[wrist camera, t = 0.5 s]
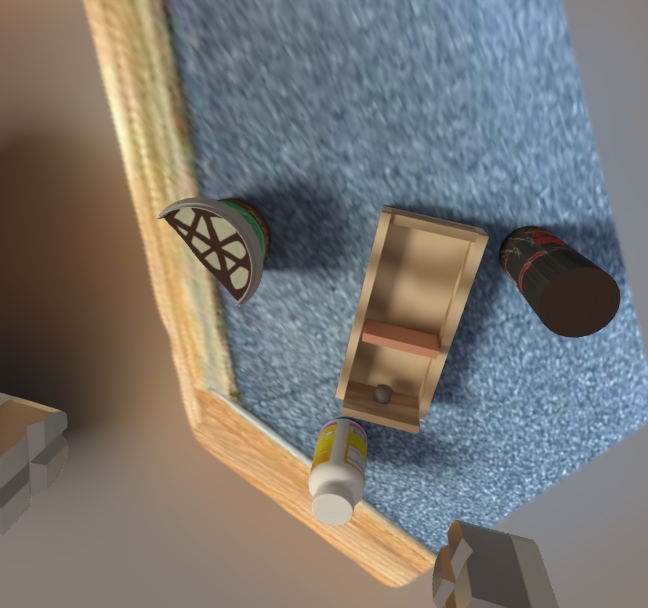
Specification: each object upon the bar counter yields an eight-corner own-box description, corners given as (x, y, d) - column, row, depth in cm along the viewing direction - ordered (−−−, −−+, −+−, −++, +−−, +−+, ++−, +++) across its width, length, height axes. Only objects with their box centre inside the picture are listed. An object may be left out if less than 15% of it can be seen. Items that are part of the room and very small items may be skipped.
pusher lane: (382, 205, 50) (380, 217, 43) (482, 228, 49) (495, 244, 42) (339, 380, 59) (332, 411, 52) (422, 401, 58) (425, 436, 52)
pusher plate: (366, 318, 53) (363, 332, 50) (436, 335, 53) (439, 351, 49) (364, 325, 54) (361, 340, 50) (433, 343, 53) (436, 359, 50)
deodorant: (487, 258, 50) (521, 309, 36) (526, 214, 48) (579, 251, 34) (528, 288, 51) (578, 351, 37) (569, 247, 48) (638, 297, 35)
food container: (302, 249, 53) (283, 276, 44) (264, 279, 55) (238, 310, 46) (232, 163, 50) (196, 172, 41) (195, 198, 52) (153, 214, 43)
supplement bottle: (318, 452, 63) (300, 527, 52) (321, 412, 61) (303, 482, 49) (366, 459, 63) (359, 537, 51) (370, 419, 60) (364, 492, 48)
